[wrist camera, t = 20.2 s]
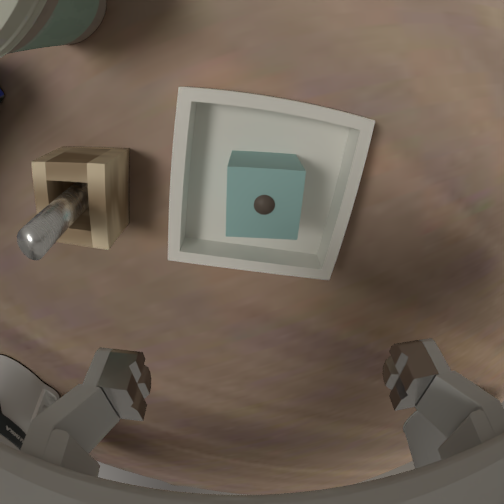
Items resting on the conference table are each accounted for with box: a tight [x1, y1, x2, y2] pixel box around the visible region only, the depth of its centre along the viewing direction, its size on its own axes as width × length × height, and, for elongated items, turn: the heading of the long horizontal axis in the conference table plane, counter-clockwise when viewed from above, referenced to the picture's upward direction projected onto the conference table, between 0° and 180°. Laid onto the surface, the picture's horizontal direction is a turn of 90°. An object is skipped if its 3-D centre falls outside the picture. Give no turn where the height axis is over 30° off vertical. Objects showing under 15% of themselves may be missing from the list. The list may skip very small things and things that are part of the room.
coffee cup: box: [0, 0, 106, 58], centre depth 12 cm, size 9×9×12 cm
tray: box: [168, 86, 375, 280], centre depth 24 cm, size 14×14×3 cm
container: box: [403, 410, 447, 469], centre depth 42 cm, size 19×19×15 cm
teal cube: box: [226, 150, 306, 240], centre depth 23 cm, size 5×5×5 cm
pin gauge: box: [17, 182, 89, 260], centre depth 20 cm, size 2×2×10 cm
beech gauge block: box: [32, 147, 130, 250], centre depth 23 cm, size 7×7×5 cm
